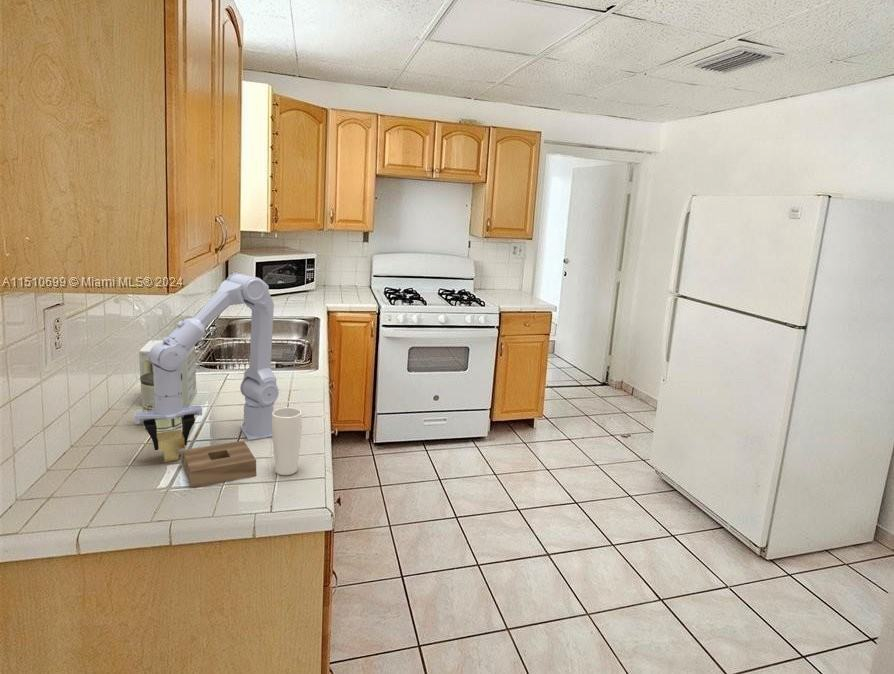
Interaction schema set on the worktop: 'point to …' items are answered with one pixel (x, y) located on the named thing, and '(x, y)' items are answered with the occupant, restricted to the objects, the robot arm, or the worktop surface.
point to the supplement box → (186, 370)
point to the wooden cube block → (170, 444)
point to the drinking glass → (286, 439)
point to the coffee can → (149, 403)
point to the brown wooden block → (218, 463)
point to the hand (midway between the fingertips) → (170, 446)
